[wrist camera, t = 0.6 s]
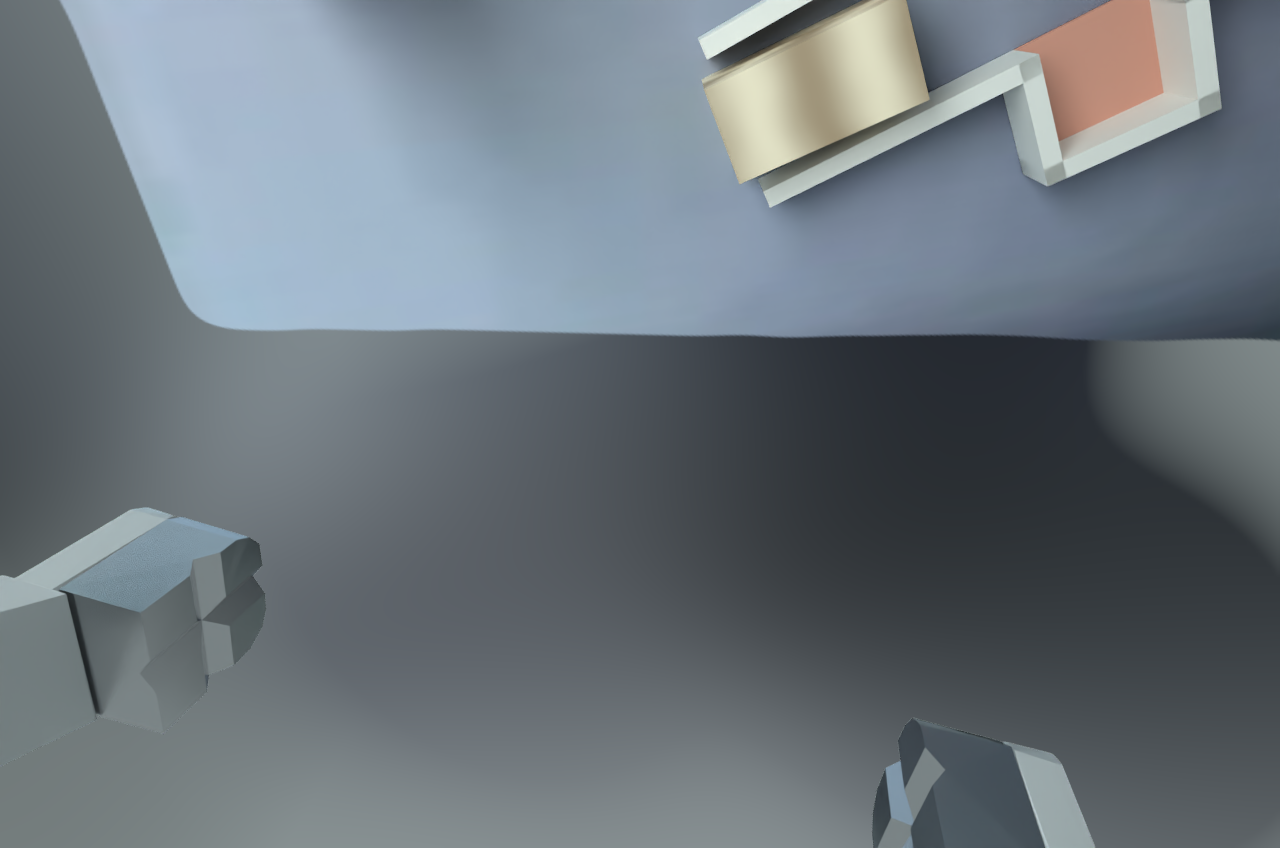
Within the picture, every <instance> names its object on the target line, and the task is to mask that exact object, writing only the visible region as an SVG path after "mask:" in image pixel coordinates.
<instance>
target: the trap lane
mask: <svg viewBox="0 0 1280 848" xmlns="http://www.w3.org/2000/svg"><path fill="white" fill-rule="evenodd" d="M810 1H812V0H762V1H760V2H758V3H757V4H755V5H753V6H751V7H750V8H748V9H746V10H745V11H743V12H741V13H739V14H738V15H736V16H734V17H732V18H731V19H729V20H727V21H726V22H724V23H722V24H720V25H719V26H717V27H715V28H714V29H712V30H710V31H708V32H707V33H705V34H703V35H701V36H700V37H698V39H699V42H700V44H701V46H702V49H703V51H704V53H705V56H706V58H707V60H708V59H710V58H711V57H713V56H715V55H717V54H718V53H720V52H722V51H724V50H725V49H727V48H729V47H731V46H732V45H734V44H736V43H738V42H739V41H741V40H743V39H745V38H747V37H748V36H750V35H752V34H754V33H755V32H757V31H759V30H761V29H762V28H764V27H766V26H768V25H769V24H771V23H773V22H775V21H776V20H778V19H780V18H782V17H783V16H785V15H787V14H789V13H791V12H792V11H794V10H796V9H798V8H799V7H801V6H803V5H805V4H806V3H808V2H810ZM1002 93H1003V96H1004V100H1005V104H1006V108H1007V112H1008V116H1009V120H1010V124H1011V128H1012V132H1013V136H1014V140H1015V144H1016V148H1017V152H1018V156H1019V160H1020V164H1021V168H1022V172H1023V174H1024V175H1026V176H1028V177H1030V178H1032V179H1034V180H1036V181H1038V182H1040V183H1042V184H1043V185H1045V186H1047V187H1048V186H1050V185H1053V184H1055V183H1057V182H1059V181H1062V180H1064V179H1066V178H1068V177H1070V176H1073V175H1075V174H1077V173H1079V172H1082V171H1084V170H1086V169H1088V168H1090V167H1093V166H1095V165H1097V164H1099V163H1102V162H1104V161H1106V160H1108V159H1110V158H1113V157H1115V156H1117V155H1119V154H1122V153H1124V152H1126V151H1128V150H1131V149H1133V148H1135V147H1137V146H1139V145H1142V144H1144V143H1146V142H1148V141H1151V140H1153V139H1155V138H1157V137H1159V136H1162V135H1164V134H1166V133H1168V132H1171V131H1173V130H1175V129H1177V128H1180V127H1182V126H1184V125H1186V124H1188V123H1191V122H1193V121H1195V120H1197V119H1200V118H1202V117H1204V116H1206V115H1208V114H1211V113H1213V112H1215V111H1217V110H1220V109H1222V106H1221V97H1220V89H1219V80H1218V72H1217V63H1216V54H1215V46H1214V37H1213V29H1212V20H1211V12H1210V3H1209V0H1111V1H1109V2H1107V3H1105V4H1103V5H1101V6H1099V7H1097V8H1095V9H1093V10H1091V11H1089V12H1087V13H1085V14H1083V15H1081V16H1079V17H1077V18H1075V19H1073V20H1071V21H1069V22H1067V23H1065V24H1063V25H1061V26H1059V27H1057V28H1055V29H1053V30H1051V31H1049V32H1047V33H1045V34H1043V35H1041V36H1040V37H1038V38H1036V39H1034V40H1032V41H1030V42H1028V43H1026V44H1024V45H1022V46H1020V47H1018V48H1016V49H1014V50H1012V51H1010V52H1008V53H1006V54H1004V55H1002V56H1000V57H998V58H996V59H994V60H992V61H990V62H988V63H986V64H984V65H982V66H980V67H978V68H976V69H974V70H972V71H970V72H968V73H966V74H964V75H963V76H961V77H959V78H957V79H955V80H953V81H951V82H949V83H947V84H945V85H943V86H941V87H939V88H937V89H935V90H933V91H931V92H929V93H928V95H929V99H930V100H928V101H926V102H924V103H921V104H919V105H917V106H915V107H912V108H910V109H908V110H906V111H903V112H901V113H899V114H897V115H894V116H892V117H890V118H888V119H885V120H883V121H881V122H879V123H876V124H874V125H872V126H870V127H867V128H865V129H863V130H861V131H858V132H856V133H854V134H852V135H849V136H847V137H845V138H843V139H840V140H838V141H836V142H834V143H831V144H829V145H827V146H825V147H822V148H820V149H818V150H816V151H813V152H811V153H809V154H807V155H805V156H803V157H801V158H799V159H797V160H795V161H793V162H791V163H789V164H787V165H785V166H783V167H781V168H779V169H777V170H775V171H773V172H771V173H769V174H767V175H765V176H763V177H761V178H759V179H758V180H759V183H760V185H761V187H762V190H763V192H764V194H765V197H766V199H767V201H768V204H769V206H770V208H771V207H773V206H775V205H777V204H779V203H781V202H783V201H785V200H787V199H789V198H791V197H793V196H795V195H797V194H799V193H801V192H803V191H805V190H807V189H809V188H811V187H813V186H815V185H817V184H819V183H821V182H823V181H826V180H828V179H830V178H832V177H834V176H836V175H838V174H840V173H842V172H844V171H846V170H848V169H850V168H852V167H854V166H856V165H858V164H860V163H862V162H864V161H866V160H868V159H870V158H872V157H874V156H876V155H878V154H880V153H882V152H884V151H886V150H889V149H891V148H893V147H895V146H897V145H899V144H901V143H903V142H905V141H907V140H909V139H911V138H913V137H915V136H917V135H919V134H921V133H923V132H925V131H927V130H929V129H931V128H933V127H935V126H937V125H939V124H941V123H943V122H945V121H947V120H949V119H952V118H954V117H956V116H958V115H960V114H962V113H964V112H966V111H968V110H970V109H972V108H974V107H976V106H978V105H980V104H982V103H984V102H986V101H988V100H990V99H992V98H994V97H996V96H998V95H1000V94H1002Z"/></svg>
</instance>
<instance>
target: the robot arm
mask: <svg viewBox="0 0 1280 848" xmlns="http://www.w3.org/2000/svg"><path fill="white" fill-rule="evenodd" d="M261 566H262V559H261V552H260V545H259V543H257V542H256V541H254V540H253V539H251V538H250V537H247V536H243V535H240V534H237V533H234V532H230V531H227V530H223V529H220V528H217V527H213V526H210V525H207V524H204V523H200V522H197V521H193V520H190V519H187V518H184V517H177V516H174V515H170V514H167V513H164V512H161V511H157V510H154V509H151V508H148V507H147V508H138V509H131V510H129V511H128V512H126V513H124V514H123V515H121V516H119V517H118V518H116V519H114V520H112V521H111V522H109V523H107V524H106V525H104V526H102V527H101V528H99V529H97V530H96V531H94V532H92V533H91V534H89V535H87V536H86V537H84V538H82V539H80V540H79V541H77V542H75V543H74V544H72V545H70V546H69V547H67V548H65V549H64V550H62V551H60V552H59V553H57V554H55V555H54V556H52V557H50V558H49V559H47V560H45V561H43V562H42V563H40V564H38V565H37V566H35V567H33V568H32V569H30V570H28V571H27V572H25V573H23V574H21V575H20V576H18V577H16V578H11V577H7V576H0V767H1V766H3V765H4V764H7V763H9V762H11V761H13V760H15V759H17V758H19V757H21V756H23V755H25V754H27V753H30V752H32V751H34V750H36V749H38V748H40V747H42V746H44V745H46V744H48V743H50V742H52V741H54V740H56V739H58V738H60V737H63V736H64V735H67V734H69V733H71V732H73V731H75V730H77V729H79V728H81V727H83V726H85V725H87V724H89V723H92V722H93V721H95V720H96V719H97V717H96V716H99V717H103V718H107V719H110V720H114V721H117V722H121V723H125V724H128V725H132V726H136V727H139V728H143V729H146V730H150V731H154V732H157V733H161V734H164V733H165V732H166V731H167V730H168V729H169V728H171V726H173V725H174V724H175V723H176V722H177V721H178V720H179V718H181V717H182V716H183V715H184V714H185V713H186V712H187V711H188V710H189V709H190V708H191V707H192V706H193V705H194V704H195V703H196V702H197V701H198V700H199V699H200V698H201V697H202V696H203V695H204V694H205V693H206V692H207V688H208V680H209V675H211V674H213V673H216V672H218V671H221V670H223V669H226V668H228V667H231V666H234V665H235V664H236V663H237V662H238V661H239V660H240V659H241V657H243V655H244V654H245V653H246V652H247V651H248V650H249V649H250V648H251V646H252V645H253V643H254V641H255V639H256V637H257V636H258V634H259V632H260V630H261V628H262V626H263V621H264V617H265V611H266V601H265V593H264V591H263V590H262V588H261V587H260V585H259V584H258V583H257V581H256V580H255V579H254V577H253V575H254V574H255V573H256V572H257V571H258V570H259V569H260V567H261ZM898 747H899V754H900V761H899V762H897V763H895V764H893V765H891V766H889V767H887V768H885V771H884V773H883V776H882V778H881V781H880V783H879V786H878V788H877V793H876V798H875V803H874V809H873V820H872V821H873V822H872V838H873V848H1095V845H1094V843H1093V840H1092V838H1091V835H1090V833H1089V830H1088V828H1087V825H1086V823H1085V821H1084V818H1083V816H1082V813H1081V811H1080V808H1079V806H1078V803H1077V801H1076V798H1075V796H1074V793H1073V791H1072V789H1071V786H1070V783H1069V781H1068V779H1067V776H1066V774H1065V771H1064V769H1063V766H1062V764H1061V762H1060V761H1059V760H1058V759H1057V758H1056V757H1055V756H1054V755H1053V754H1052V753H1048V752H1044V751H1040V750H1036V749H1032V748H1028V747H1025V746H1021V745H1017V744H1013V743H1009V742H1001V741H999V740H995V739H992V738H988V737H984V736H980V735H976V734H972V733H969V732H965V731H961V730H957V729H954V728H950V727H946V726H942V725H938V724H935V723H931V722H927V721H923V720H919V719H916V718H912V719H911V720H910V721H909V722H908V723H907V724H906V725H905V726H904V728H903V730H902V733H901V735H900V737H899V739H898Z"/></svg>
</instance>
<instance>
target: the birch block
mask: <svg viewBox="0 0 1280 848" xmlns="http://www.w3.org/2000/svg"><path fill="white" fill-rule="evenodd" d="M702 83H703V87H704V91H705V93H706V96H707V99H708V101H709V104H710V107H711V109H712V112H713V115H714V117H715V120H716V123H717V125H718V128H719V131H720V133H721V136H722V139H723V141H724V144H725V147H726V149H727V152H728V155H729V157H730V160H731V163H732V165H733V168H734V171H735V173H736V176H737V179H738V181H739V184H741V183H744V182H746V181H748V180H750V179H753V178H755V177H757V176H759V175H762V174H764V173H766V172H768V171H771V170H773V169H775V168H777V167H780V166H782V165H784V164H786V163H789V162H791V161H793V160H795V159H798V158H800V157H802V156H804V155H807V154H809V153H811V152H813V151H816V150H818V149H820V148H822V147H825V146H827V145H829V144H831V143H834V142H836V141H838V140H840V139H843V138H845V137H847V136H849V135H852V134H854V133H856V132H858V131H861V130H863V129H865V128H867V127H870V126H872V125H874V124H876V123H879V122H881V121H883V120H885V119H888V118H890V117H892V116H894V115H897V114H899V113H901V112H903V111H906V110H908V109H910V108H912V107H915V106H917V105H919V104H921V103H924V102H926V101H928V100H930V99H929V95H928V90H927V86H926V82H925V78H924V73H923V69H922V65H921V61H920V57H919V52H918V48H917V44H916V40H915V35H914V31H913V27H912V23H911V19H910V14H909V10H908V6H907V2H906V0H862V1H860V2H858V3H856V4H854V5H852V6H850V7H848V8H846V9H844V10H842V11H840V12H838V13H836V14H833V15H831V16H829V17H827V18H825V19H823V20H821V21H819V22H817V23H815V24H813V25H811V26H809V27H807V28H805V29H803V30H801V31H799V32H797V33H795V34H793V35H791V36H789V37H787V38H785V39H783V40H781V41H778V42H776V43H774V44H772V45H770V46H768V47H766V48H764V49H762V50H760V51H758V52H756V53H754V54H752V55H750V56H748V57H746V58H744V59H742V60H740V61H738V62H736V63H734V64H732V65H730V66H728V67H726V68H724V69H721V70H719V71H717V72H715V73H713V74H711V75H709V76H707V77H705V78H703V79H702Z"/></svg>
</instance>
